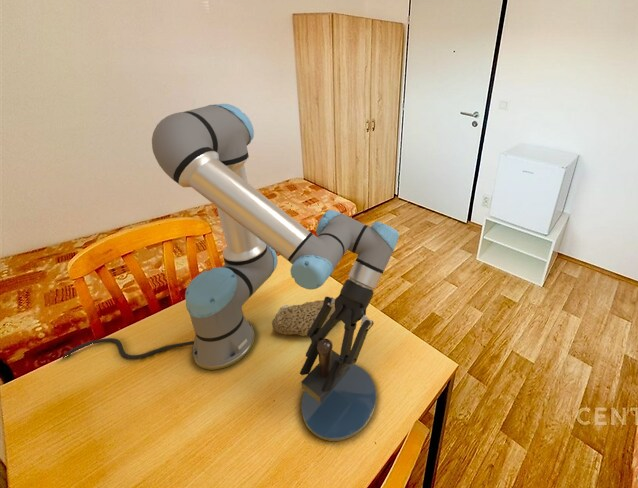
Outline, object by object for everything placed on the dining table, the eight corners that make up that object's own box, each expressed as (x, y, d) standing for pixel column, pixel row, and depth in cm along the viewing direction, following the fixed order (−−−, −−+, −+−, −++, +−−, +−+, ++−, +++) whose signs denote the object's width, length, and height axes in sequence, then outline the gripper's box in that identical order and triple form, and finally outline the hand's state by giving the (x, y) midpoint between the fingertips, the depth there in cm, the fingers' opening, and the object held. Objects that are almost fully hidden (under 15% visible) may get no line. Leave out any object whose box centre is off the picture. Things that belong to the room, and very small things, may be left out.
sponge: (272, 343, 93) (338, 341, 90) (266, 320, 91) (333, 317, 88) (291, 314, 105) (349, 312, 103) (286, 294, 104) (345, 290, 101)
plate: (291, 439, 71) (291, 436, 70) (313, 363, 87) (312, 360, 86) (372, 443, 71) (372, 440, 70) (378, 367, 87) (378, 365, 86)
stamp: (320, 403, 70) (317, 366, 64) (301, 388, 73) (297, 351, 67) (350, 368, 78) (349, 332, 72) (332, 356, 80) (330, 320, 75)
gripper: (399, 302, 75) (355, 403, 70) (339, 271, 84) (295, 358, 78) (387, 300, 69) (338, 410, 63) (323, 266, 78) (275, 360, 72)
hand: (314, 381), depth 71 cm, fingers closed on stamp, 6 cm apart
